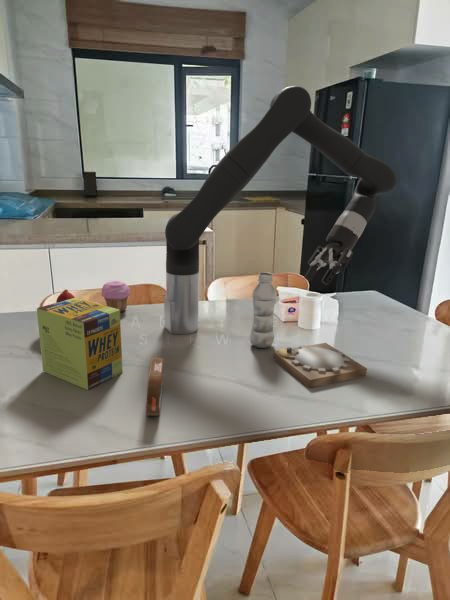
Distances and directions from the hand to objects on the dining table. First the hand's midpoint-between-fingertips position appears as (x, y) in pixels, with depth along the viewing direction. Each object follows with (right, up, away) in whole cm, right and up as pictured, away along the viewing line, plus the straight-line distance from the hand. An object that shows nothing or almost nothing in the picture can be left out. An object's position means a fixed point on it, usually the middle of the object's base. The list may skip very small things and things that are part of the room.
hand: (315, 281), depth 117 cm
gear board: (-2, -21, -11) cm, 24 cm away
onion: (-74, -10, +20) cm, 77 cm away
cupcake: (-59, -9, +24) cm, 65 cm away
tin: (-38, -26, -29) cm, 55 cm away
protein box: (-57, -22, -17) cm, 63 cm away
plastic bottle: (-15, -18, 0) cm, 23 cm away
